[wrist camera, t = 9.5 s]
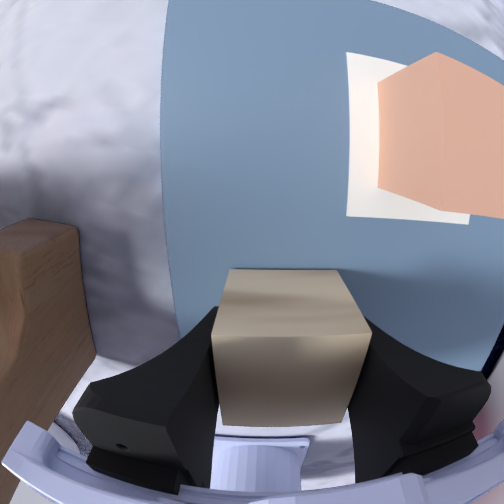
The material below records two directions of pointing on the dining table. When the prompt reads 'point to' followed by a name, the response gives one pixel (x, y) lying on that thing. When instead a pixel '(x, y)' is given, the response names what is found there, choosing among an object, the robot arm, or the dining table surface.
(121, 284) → the dining table surface
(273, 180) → the board
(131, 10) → the dining table surface
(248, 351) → the maple block
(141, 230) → the dining table surface
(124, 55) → the dining table surface
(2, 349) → the wooden block
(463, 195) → the terracotta block
